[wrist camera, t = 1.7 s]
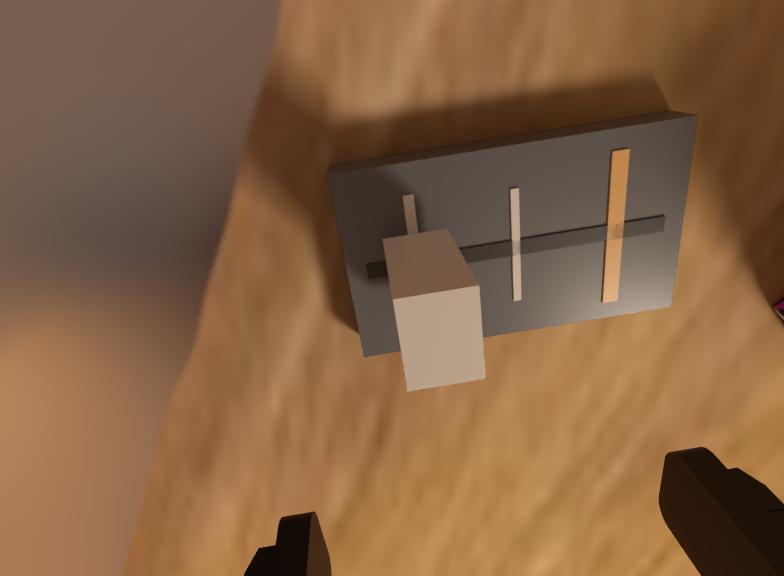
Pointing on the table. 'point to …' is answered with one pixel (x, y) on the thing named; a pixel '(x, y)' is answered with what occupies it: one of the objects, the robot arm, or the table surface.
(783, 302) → the candy bar box
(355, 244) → the fader console
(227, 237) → the table surface
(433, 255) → the fader knob
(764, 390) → the table surface
